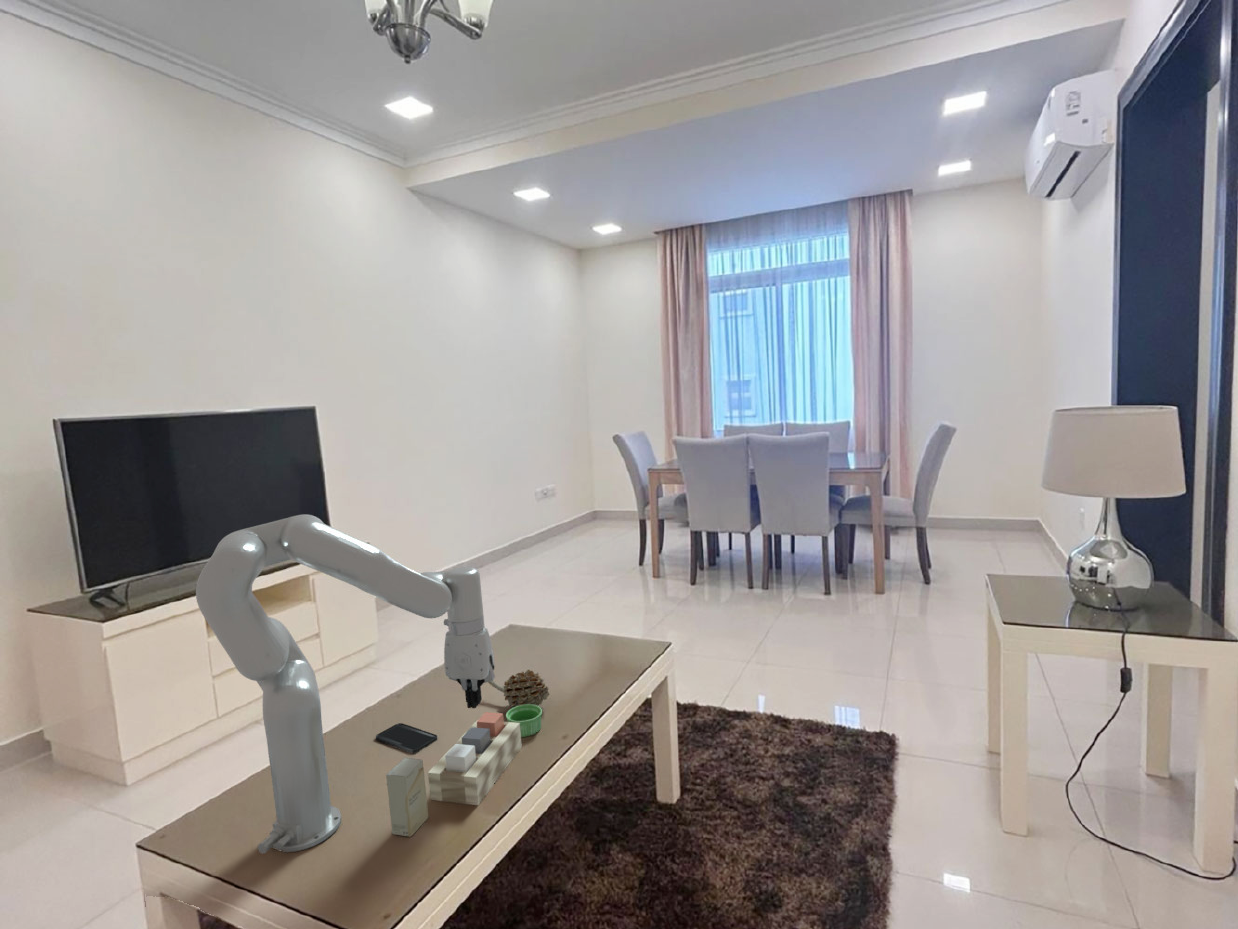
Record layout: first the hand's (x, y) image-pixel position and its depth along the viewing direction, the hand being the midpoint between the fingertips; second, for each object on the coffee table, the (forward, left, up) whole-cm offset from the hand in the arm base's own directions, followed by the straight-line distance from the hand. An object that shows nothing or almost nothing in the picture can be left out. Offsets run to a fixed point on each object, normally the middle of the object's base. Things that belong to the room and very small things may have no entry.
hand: (474, 705), depth 139 cm
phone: (+10, +25, -16) cm, 31 cm away
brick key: (+7, 0, -12) cm, 14 cm away
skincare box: (-19, +5, -16) cm, 25 cm away
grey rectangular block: (0, 0, -12) cm, 12 cm away
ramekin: (+19, -3, -16) cm, 25 cm away
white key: (-7, 0, -12) cm, 14 cm away
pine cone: (+31, +5, -16) cm, 35 cm away
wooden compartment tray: (0, 0, -15) cm, 15 cm away
